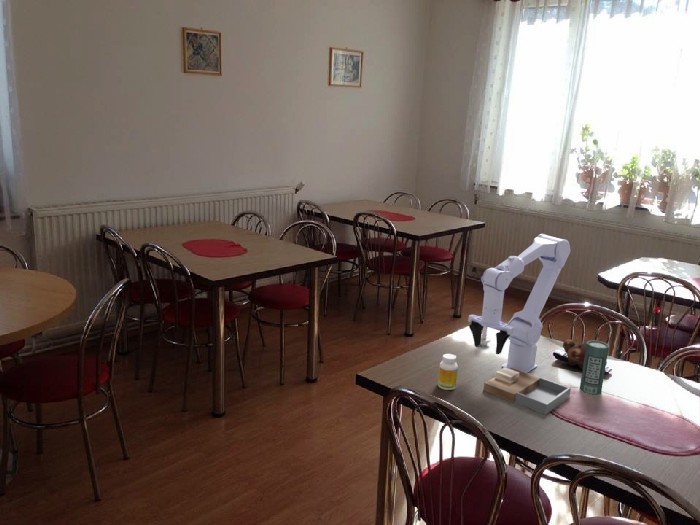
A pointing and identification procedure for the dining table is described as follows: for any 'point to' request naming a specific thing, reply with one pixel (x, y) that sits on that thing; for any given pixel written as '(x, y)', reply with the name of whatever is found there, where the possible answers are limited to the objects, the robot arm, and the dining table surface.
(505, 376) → the wooden tile
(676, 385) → the dining table surface
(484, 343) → the screw
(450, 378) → the supplement bottle
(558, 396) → the box
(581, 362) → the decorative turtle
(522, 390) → the wooden board
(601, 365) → the can
